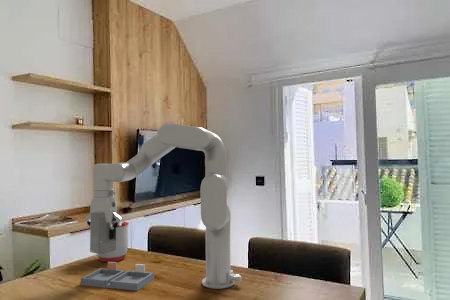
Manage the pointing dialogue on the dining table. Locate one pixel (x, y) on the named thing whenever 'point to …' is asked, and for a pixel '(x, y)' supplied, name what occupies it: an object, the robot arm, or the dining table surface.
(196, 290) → the dining table surface
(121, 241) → the citrus juicer
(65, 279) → the dining table surface
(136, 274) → the tray
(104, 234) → the skincare box
